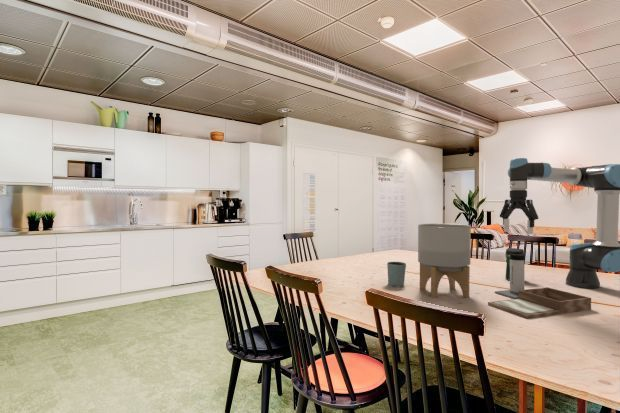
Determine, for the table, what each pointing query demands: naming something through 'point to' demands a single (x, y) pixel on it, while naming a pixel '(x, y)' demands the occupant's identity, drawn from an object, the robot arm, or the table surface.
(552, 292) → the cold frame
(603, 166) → the robot arm
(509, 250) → the coffee jar
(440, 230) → the planter
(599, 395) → the table surface
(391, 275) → the blue-grey cup
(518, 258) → the travel mug
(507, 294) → the potting mat
